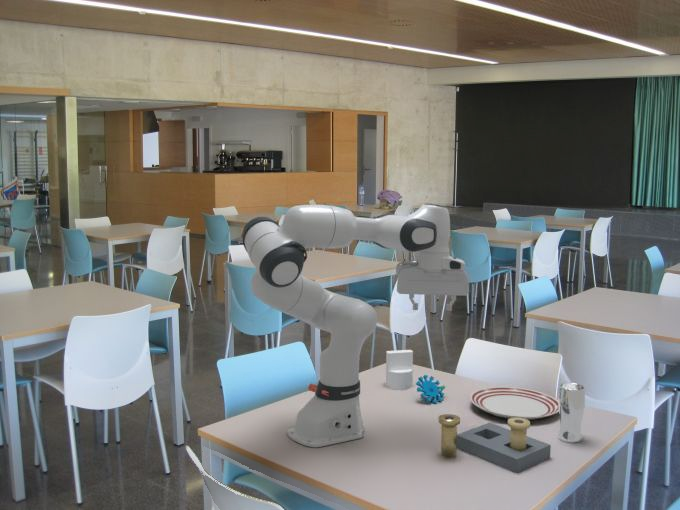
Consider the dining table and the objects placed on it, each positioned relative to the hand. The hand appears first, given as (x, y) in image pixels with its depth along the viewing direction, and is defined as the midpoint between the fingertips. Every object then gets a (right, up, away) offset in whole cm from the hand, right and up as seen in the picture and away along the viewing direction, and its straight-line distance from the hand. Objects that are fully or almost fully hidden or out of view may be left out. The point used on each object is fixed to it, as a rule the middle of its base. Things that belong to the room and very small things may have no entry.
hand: (432, 310), depth 200 cm
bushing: (+3, -37, -14) cm, 39 cm away
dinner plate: (+28, -33, +19) cm, 47 cm away
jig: (+17, -37, -13) cm, 42 cm away
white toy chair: (-6, -29, +42) cm, 51 cm away
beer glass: (+38, -36, -4) cm, 52 cm away
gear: (+3, -31, +27) cm, 42 cm away
